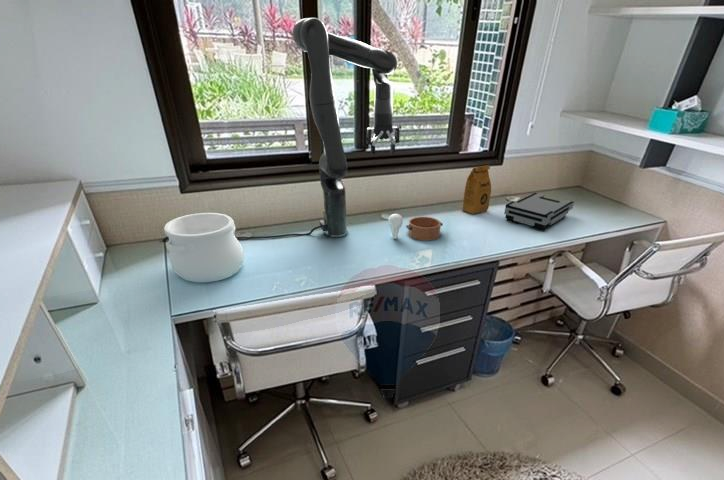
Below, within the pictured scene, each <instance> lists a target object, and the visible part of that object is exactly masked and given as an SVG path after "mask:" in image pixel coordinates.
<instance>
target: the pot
mask: <svg viewBox="0 0 724 480" xmlns="http://www.w3.org/2000/svg"><path fill="white" fill-rule="evenodd" d="M163 232H164V235H166V237H169V238H168V241H166V242H165V247H166V250H167V251H169V262H170V264H171V267H172V270H173V271H174V272H175V273H176V274H177V275H178V277H180V278H182V279H183V280H185V281H188V282H192V283H211V282H217V281H221V280H225V279H227V278H230V277H232V276H234V275H236V273H238V272H239V271H240V270H241V268H242V267H243V264H244V259H245V255H244V249H243V247H242V245H241V243H240V241H239V239H236V237H237V236H236V234H235V232H236V225H235V221H234V219H233V218H232V217H231V216H229V215H228V214H223V213H218V212H197V213H191V214H185V215H182V216H178V217H176V218H173V219H171V220H169V221H168V222H167V223H165V224H164V228H163Z"/></svg>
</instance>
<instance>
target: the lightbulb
mask: <svg viewBox="0 0 724 480" xmlns="http://www.w3.org/2000/svg"><path fill="white" fill-rule="evenodd" d="M403 222H404V220H403V217H402V215H400V214H399V213H392V214H390V215H389V216H388V225H389V227H390V230H391V238H393V239H394V240H396V239H398V238H399V233H400V229H401V227H402V225H403Z"/></svg>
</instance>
